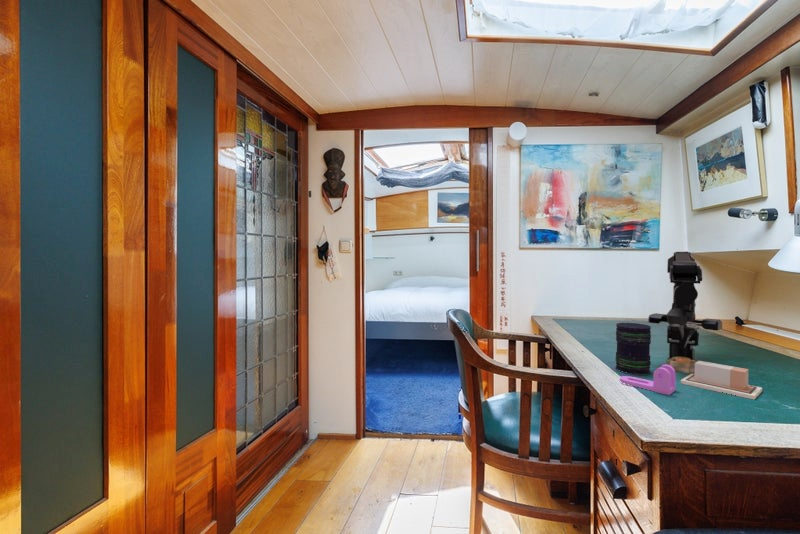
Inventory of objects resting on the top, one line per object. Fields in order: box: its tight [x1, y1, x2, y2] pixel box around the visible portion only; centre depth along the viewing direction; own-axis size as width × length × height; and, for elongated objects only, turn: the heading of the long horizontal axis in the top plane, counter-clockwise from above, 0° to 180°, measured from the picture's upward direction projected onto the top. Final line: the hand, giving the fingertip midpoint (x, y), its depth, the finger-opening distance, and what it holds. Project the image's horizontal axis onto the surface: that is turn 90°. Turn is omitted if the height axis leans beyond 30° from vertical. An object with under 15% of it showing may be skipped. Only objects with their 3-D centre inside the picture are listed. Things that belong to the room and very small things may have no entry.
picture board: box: [680, 374, 763, 401], centre depth 107 cm, size 16×10×1 cm, turn 38°
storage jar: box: [615, 322, 652, 375], centre depth 123 cm, size 10×10×15 cm
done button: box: [675, 357, 691, 364], centre depth 124 cm, size 4×4×3 cm
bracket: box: [619, 364, 676, 396], centre depth 108 cm, size 13×6×7 cm, turn 40°
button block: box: [666, 357, 699, 375], centre depth 124 cm, size 7×7×3 cm
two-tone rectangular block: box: [694, 360, 750, 391], centre depth 107 cm, size 11×4×5 cm, turn 38°
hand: (683, 347), depth 123 cm, fingers closed
